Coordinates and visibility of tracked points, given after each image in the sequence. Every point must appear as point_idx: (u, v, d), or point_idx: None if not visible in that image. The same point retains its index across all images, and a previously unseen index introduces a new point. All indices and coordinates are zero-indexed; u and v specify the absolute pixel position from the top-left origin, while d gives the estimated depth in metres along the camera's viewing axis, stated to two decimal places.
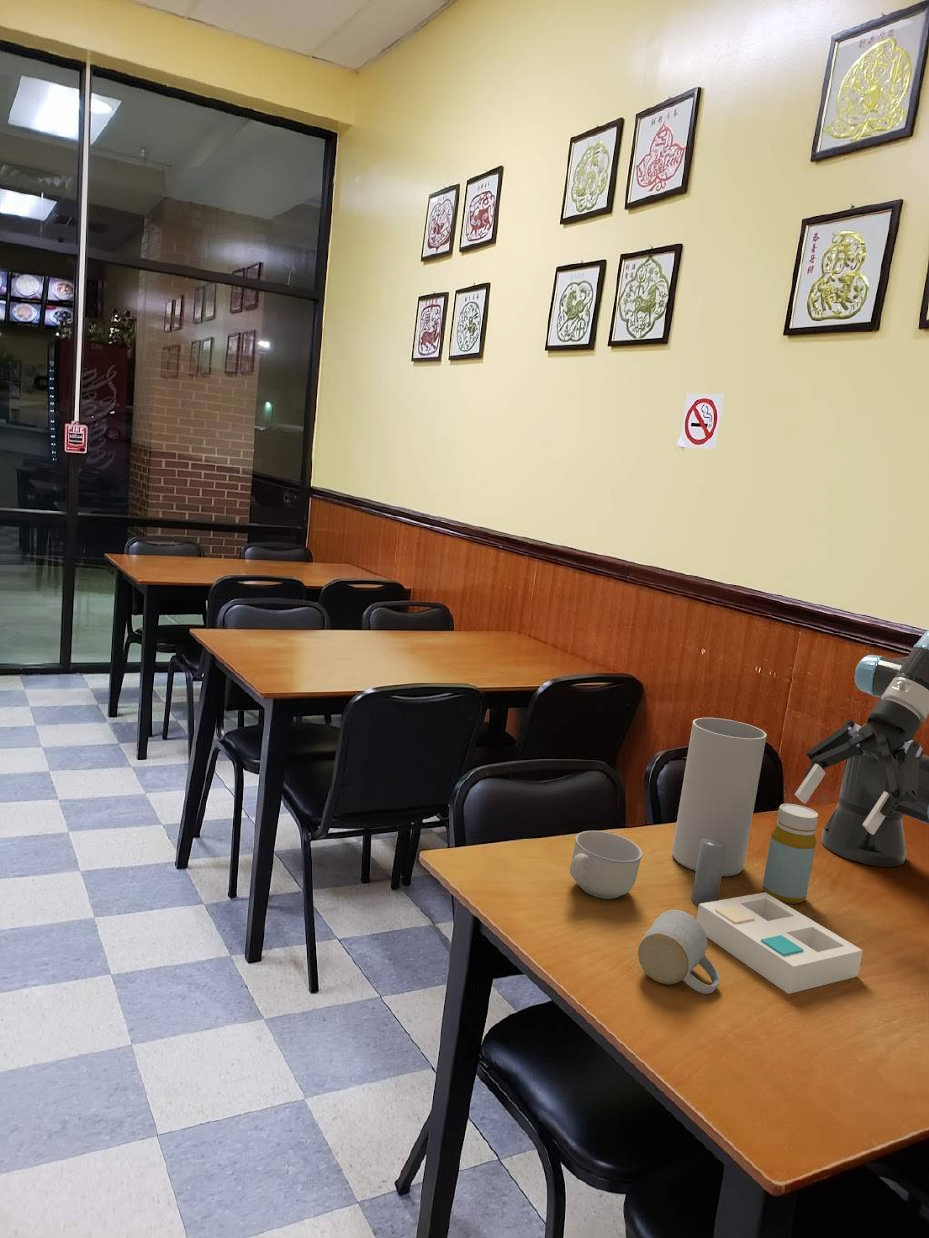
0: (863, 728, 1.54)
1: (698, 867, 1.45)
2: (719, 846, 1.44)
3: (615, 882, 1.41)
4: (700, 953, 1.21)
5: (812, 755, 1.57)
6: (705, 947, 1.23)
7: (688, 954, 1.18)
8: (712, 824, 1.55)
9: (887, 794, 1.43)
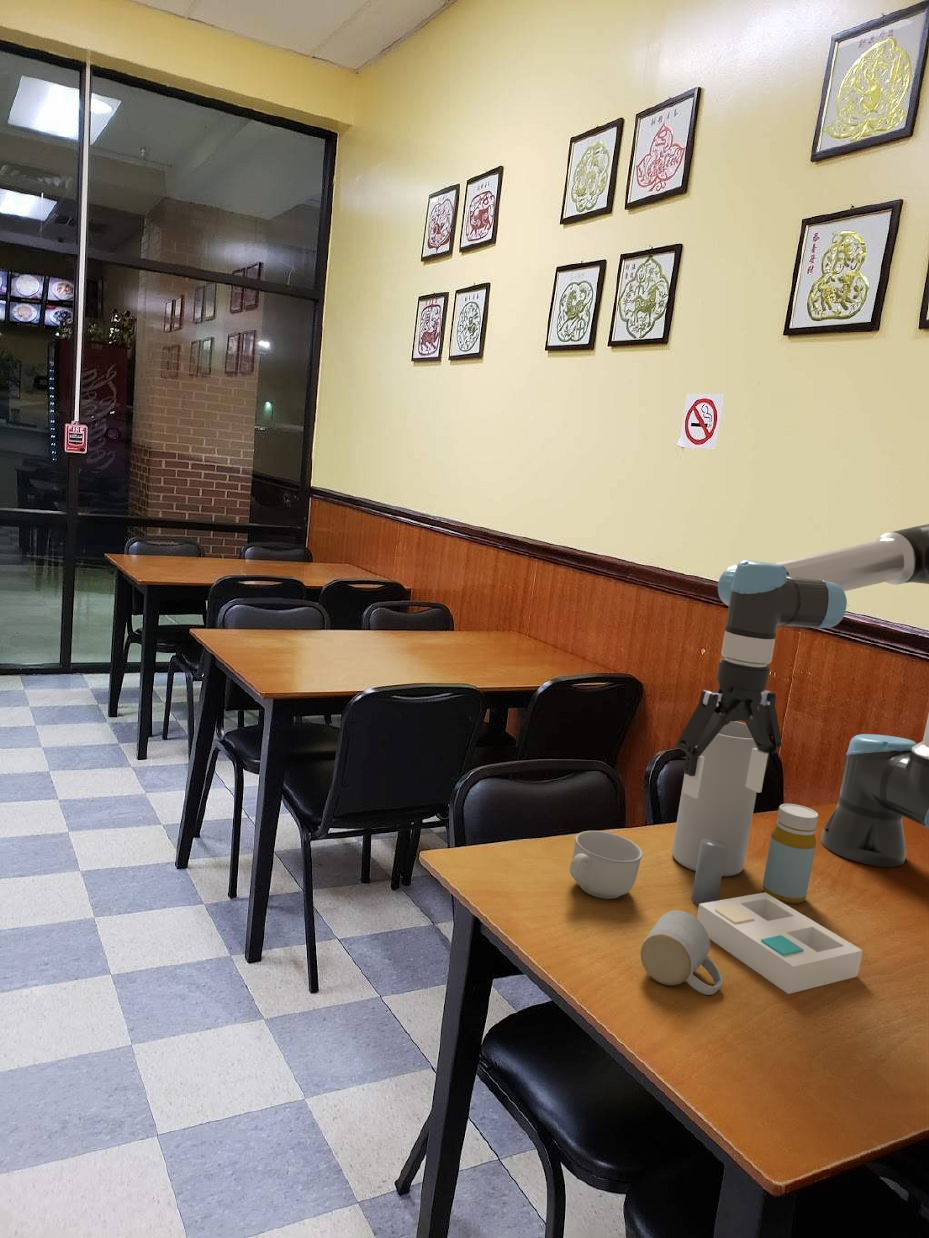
0: None
1: (698, 867, 1.45)
2: (719, 846, 1.44)
3: (615, 882, 1.41)
4: (703, 954, 1.21)
5: None
6: (708, 948, 1.23)
7: (691, 955, 1.18)
8: (712, 824, 1.55)
9: None
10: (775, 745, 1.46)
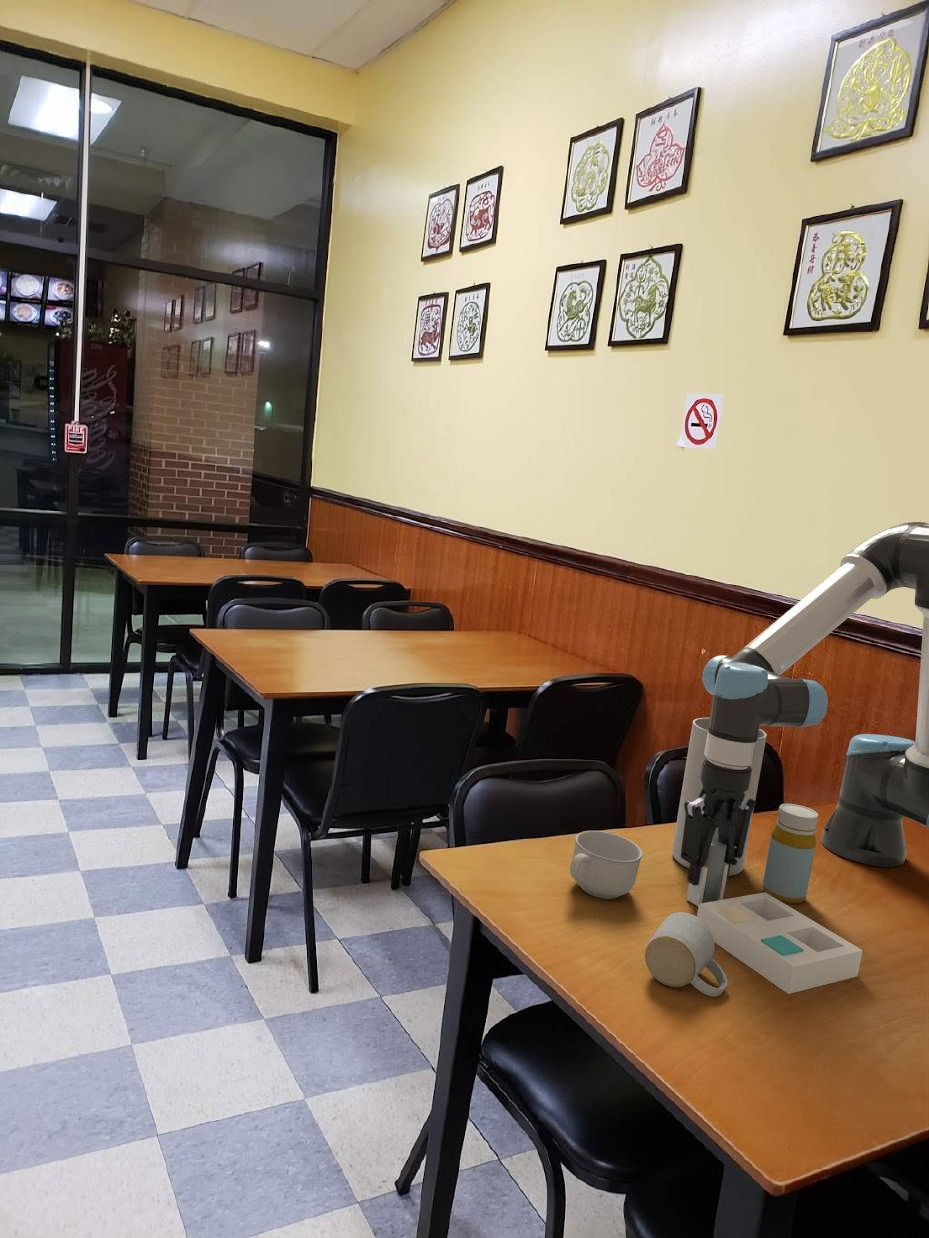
0: None
1: None
2: (719, 846, 1.44)
3: (615, 882, 1.41)
4: (707, 956, 1.21)
5: None
6: (712, 950, 1.22)
7: (696, 957, 1.18)
8: None
9: None
10: (736, 854, 1.46)
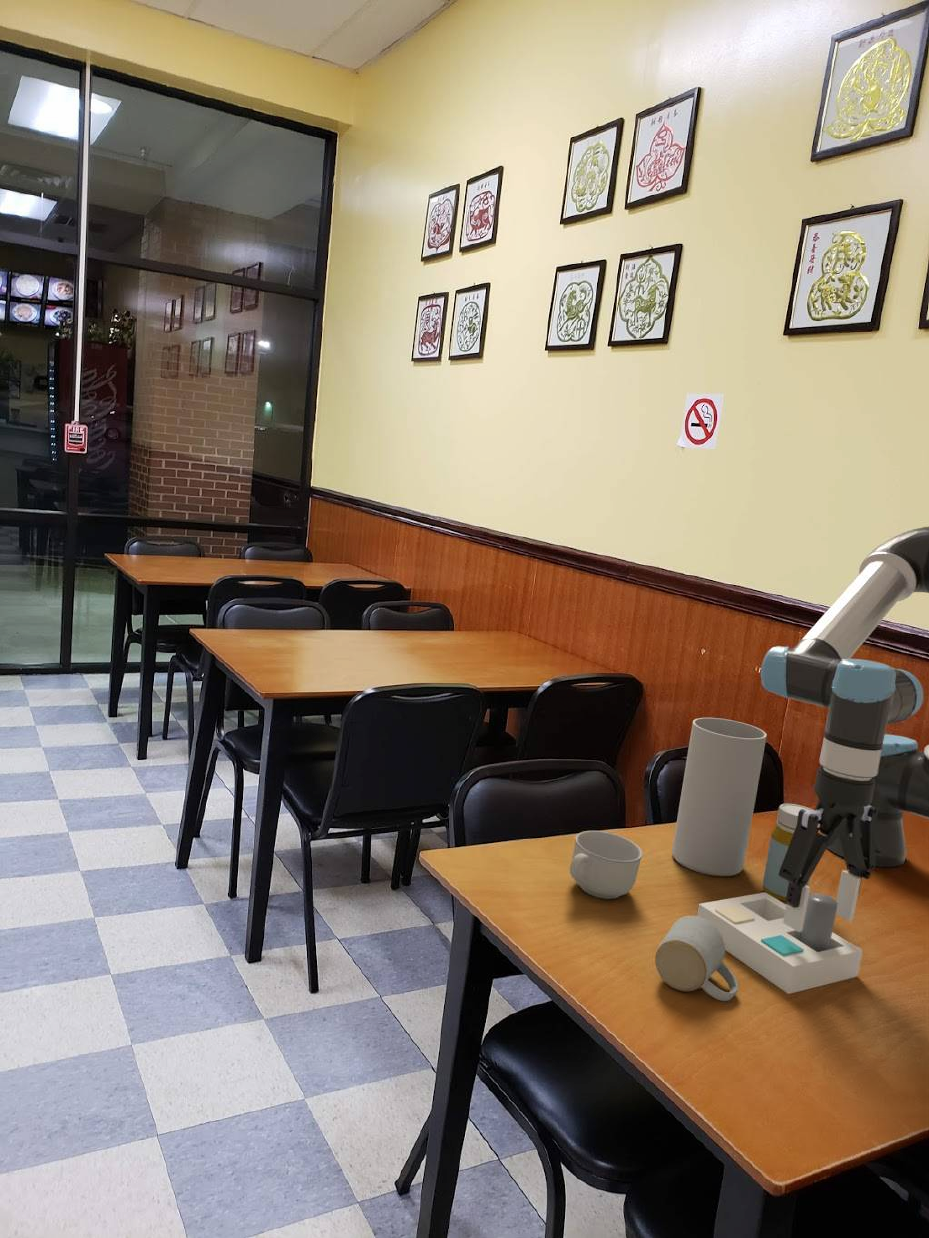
0: None
1: (804, 926, 1.28)
2: (829, 903, 1.27)
3: (615, 882, 1.41)
4: (718, 960, 1.20)
5: None
6: (723, 954, 1.22)
7: (706, 961, 1.17)
8: (712, 824, 1.55)
9: None
10: (868, 867, 1.30)
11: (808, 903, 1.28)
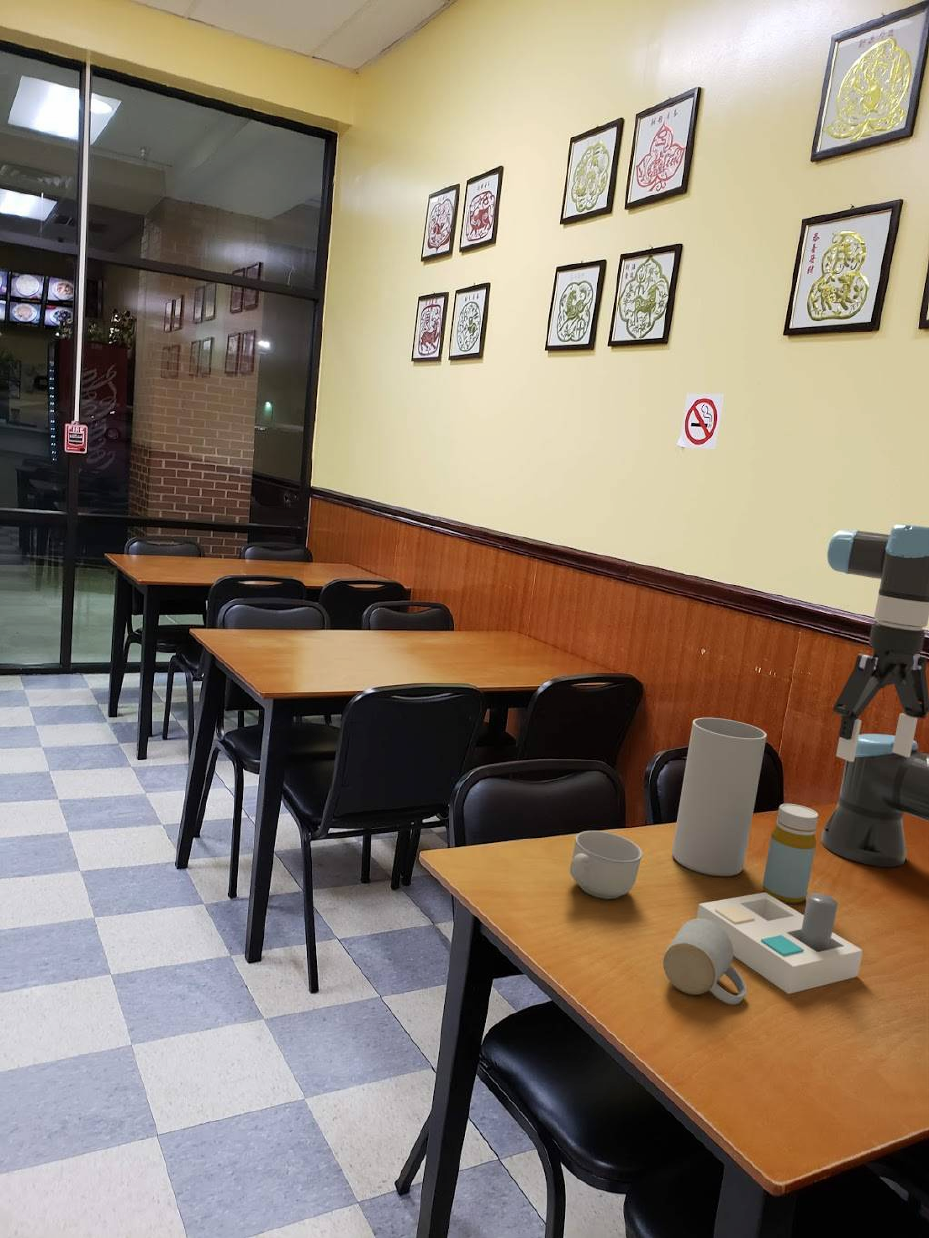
0: None
1: (805, 926, 1.28)
2: (829, 903, 1.27)
3: (615, 882, 1.41)
4: (726, 963, 1.20)
5: None
6: (731, 957, 1.21)
7: (715, 964, 1.16)
8: (712, 824, 1.55)
9: None
10: (923, 710, 1.46)
11: (808, 903, 1.28)
